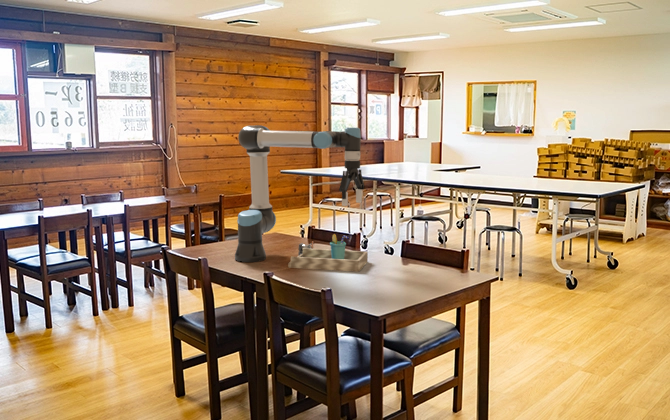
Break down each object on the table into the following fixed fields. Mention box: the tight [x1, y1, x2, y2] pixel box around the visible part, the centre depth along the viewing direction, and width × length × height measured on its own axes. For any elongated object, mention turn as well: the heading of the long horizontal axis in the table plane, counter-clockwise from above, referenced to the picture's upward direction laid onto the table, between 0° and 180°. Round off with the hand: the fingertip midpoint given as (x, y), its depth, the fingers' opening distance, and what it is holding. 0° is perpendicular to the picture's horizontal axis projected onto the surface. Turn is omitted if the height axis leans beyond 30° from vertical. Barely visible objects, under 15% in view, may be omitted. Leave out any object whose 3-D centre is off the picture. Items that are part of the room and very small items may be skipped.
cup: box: [329, 233, 350, 259], centre depth 293 cm, size 14×8×15 cm, turn 37°
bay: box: [287, 248, 369, 273], centre depth 295 cm, size 33×20×5 cm, turn 76°
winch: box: [297, 241, 314, 257], centre depth 314 cm, size 7×5×8 cm
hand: (351, 204), depth 302 cm, fingers open, 13 cm apart
